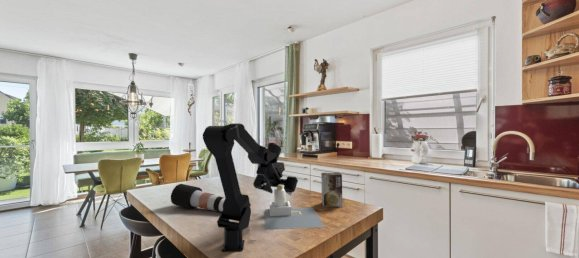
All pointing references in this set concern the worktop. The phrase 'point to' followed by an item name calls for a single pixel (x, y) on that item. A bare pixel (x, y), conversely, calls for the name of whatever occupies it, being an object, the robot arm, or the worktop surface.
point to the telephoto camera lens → (195, 198)
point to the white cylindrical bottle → (279, 196)
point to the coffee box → (332, 189)
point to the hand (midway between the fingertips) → (281, 193)
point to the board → (291, 217)
